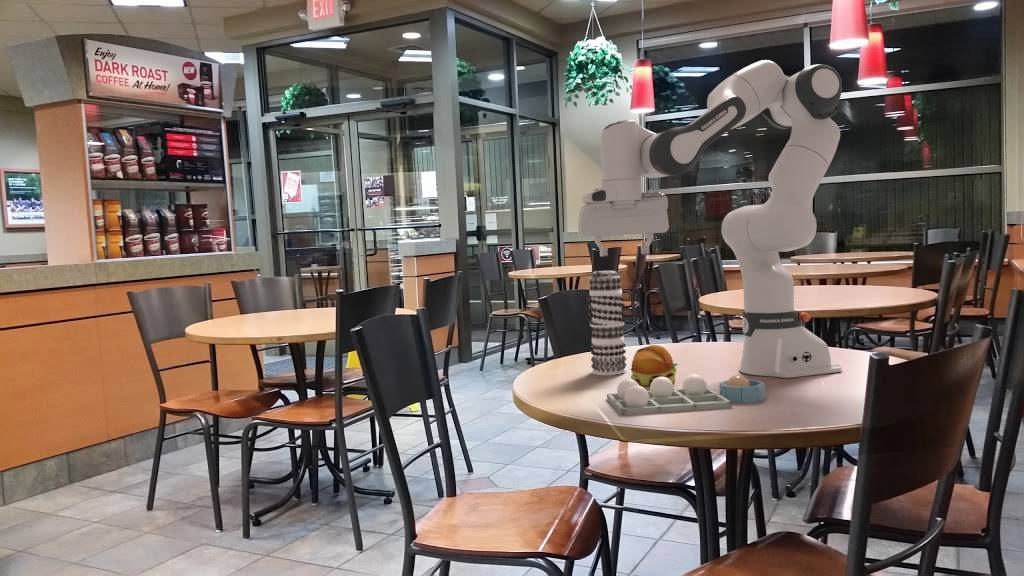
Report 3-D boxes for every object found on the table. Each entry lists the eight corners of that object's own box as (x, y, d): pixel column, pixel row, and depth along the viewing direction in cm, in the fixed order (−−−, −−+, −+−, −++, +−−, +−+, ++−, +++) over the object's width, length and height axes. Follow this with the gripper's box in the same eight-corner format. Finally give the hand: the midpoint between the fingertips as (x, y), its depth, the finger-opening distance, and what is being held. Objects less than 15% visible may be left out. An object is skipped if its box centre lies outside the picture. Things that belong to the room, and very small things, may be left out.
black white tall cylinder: (589, 376, 184) (584, 273, 182) (591, 369, 193) (587, 270, 191) (627, 375, 182) (622, 271, 181) (628, 368, 191) (624, 269, 190)
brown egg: (748, 389, 152) (739, 369, 152) (757, 394, 147) (748, 373, 147) (728, 399, 152) (718, 379, 151) (736, 405, 147) (727, 384, 147)
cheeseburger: (680, 379, 173) (678, 339, 170) (675, 401, 164) (672, 358, 161) (636, 378, 177) (633, 338, 174) (628, 399, 167) (625, 357, 164)
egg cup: (755, 395, 154) (754, 377, 154) (772, 404, 146) (771, 385, 146) (714, 398, 154) (713, 380, 153) (729, 407, 145) (728, 388, 145)
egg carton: (707, 395, 156) (706, 370, 156) (732, 411, 142) (731, 383, 142) (607, 402, 155) (606, 376, 154) (622, 419, 141) (621, 390, 140)
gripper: (663, 192, 175) (665, 252, 176) (575, 196, 173) (578, 257, 174) (671, 190, 168) (673, 252, 169) (579, 195, 167) (582, 257, 168)
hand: (624, 255), depth 172 cm, fingers open, 8 cm apart
